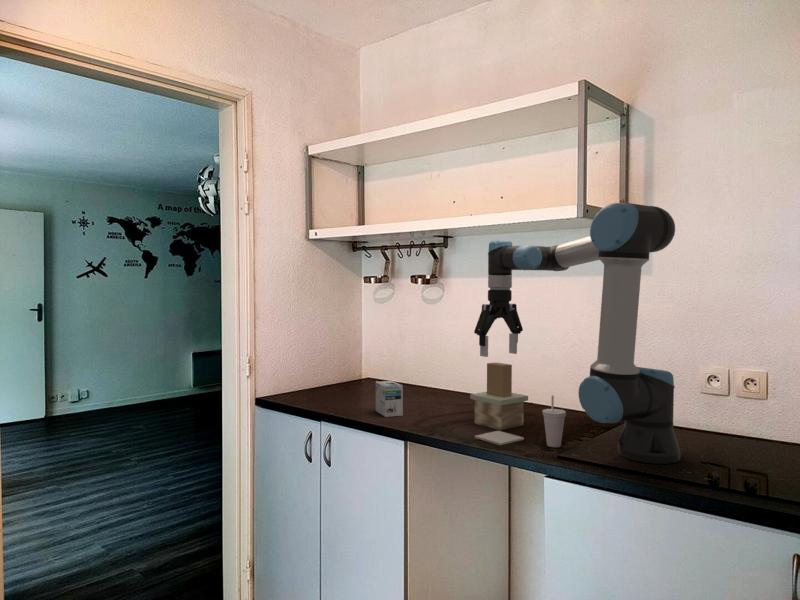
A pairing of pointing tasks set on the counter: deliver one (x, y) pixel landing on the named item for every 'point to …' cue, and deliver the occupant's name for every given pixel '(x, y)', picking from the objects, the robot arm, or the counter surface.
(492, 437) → the mat
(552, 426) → the smoothie
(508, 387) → the lid
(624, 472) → the counter surface
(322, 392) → the counter surface
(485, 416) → the box
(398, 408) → the light bulb box
